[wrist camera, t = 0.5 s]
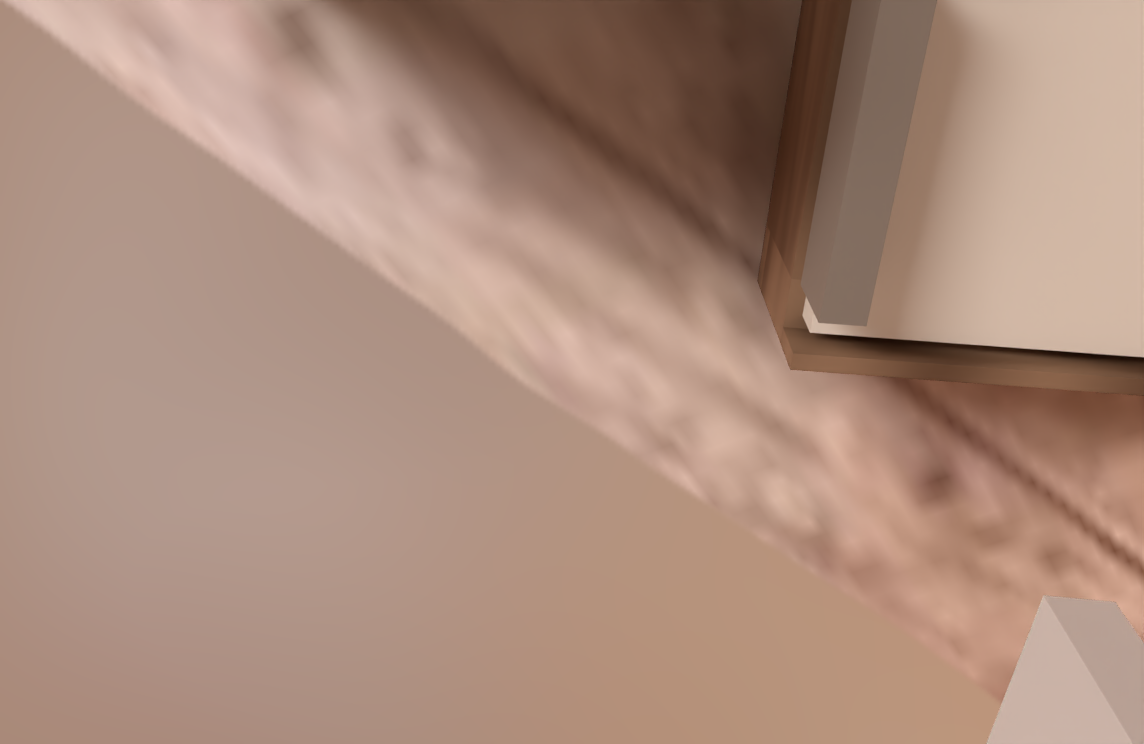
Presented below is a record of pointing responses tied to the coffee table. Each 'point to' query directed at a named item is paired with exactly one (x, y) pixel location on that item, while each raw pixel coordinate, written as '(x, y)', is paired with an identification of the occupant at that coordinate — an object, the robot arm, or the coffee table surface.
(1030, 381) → the walnut box
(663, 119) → the coffee table surface
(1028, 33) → the cover plate
